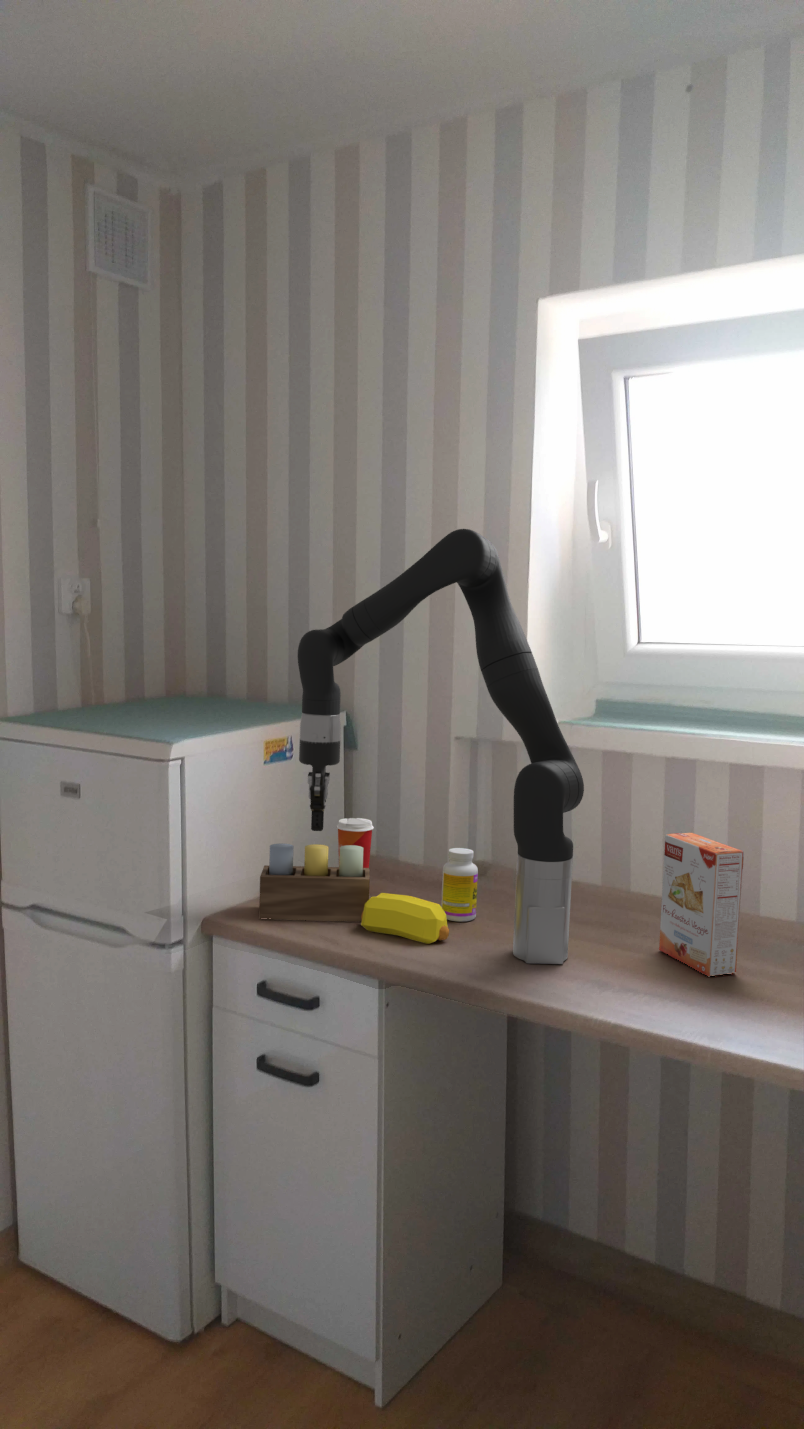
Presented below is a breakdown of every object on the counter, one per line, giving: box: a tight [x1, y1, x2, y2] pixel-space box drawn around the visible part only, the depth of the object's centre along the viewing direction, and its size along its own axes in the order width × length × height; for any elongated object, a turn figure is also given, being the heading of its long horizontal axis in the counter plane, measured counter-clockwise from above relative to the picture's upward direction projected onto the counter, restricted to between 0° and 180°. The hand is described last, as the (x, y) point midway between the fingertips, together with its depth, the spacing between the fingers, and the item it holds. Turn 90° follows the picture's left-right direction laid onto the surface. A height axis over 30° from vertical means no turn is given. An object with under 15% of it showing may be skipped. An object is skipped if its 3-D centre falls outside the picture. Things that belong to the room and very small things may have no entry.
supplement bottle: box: [440, 847, 479, 923], centre depth 198 cm, size 7×7×13 cm
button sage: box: [338, 845, 363, 877], centre depth 197 cm, size 4×4×6 cm
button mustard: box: [303, 843, 330, 876], centre depth 196 cm, size 4×4×6 cm
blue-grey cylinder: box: [268, 843, 294, 875], centre depth 196 cm, size 4×4×6 cm
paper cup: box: [336, 817, 375, 869], centre depth 216 cm, size 8×8×14 cm
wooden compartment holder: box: [258, 865, 371, 923], centre depth 197 cm, size 8×20×8 cm, turn 92°
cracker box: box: [658, 832, 745, 977], centre depth 176 cm, size 14×6×21 cm, turn 21°
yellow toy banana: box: [360, 892, 450, 944], centre depth 187 cm, size 18×7×8 cm
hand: (317, 830), depth 196 cm, fingers closed
